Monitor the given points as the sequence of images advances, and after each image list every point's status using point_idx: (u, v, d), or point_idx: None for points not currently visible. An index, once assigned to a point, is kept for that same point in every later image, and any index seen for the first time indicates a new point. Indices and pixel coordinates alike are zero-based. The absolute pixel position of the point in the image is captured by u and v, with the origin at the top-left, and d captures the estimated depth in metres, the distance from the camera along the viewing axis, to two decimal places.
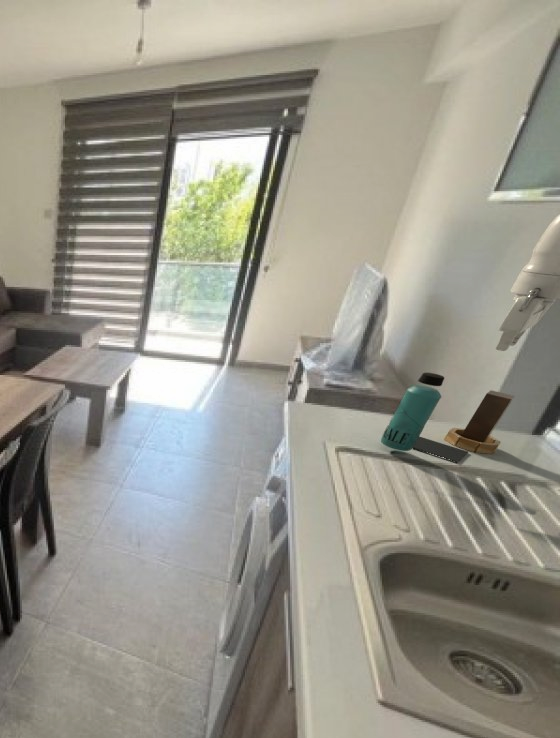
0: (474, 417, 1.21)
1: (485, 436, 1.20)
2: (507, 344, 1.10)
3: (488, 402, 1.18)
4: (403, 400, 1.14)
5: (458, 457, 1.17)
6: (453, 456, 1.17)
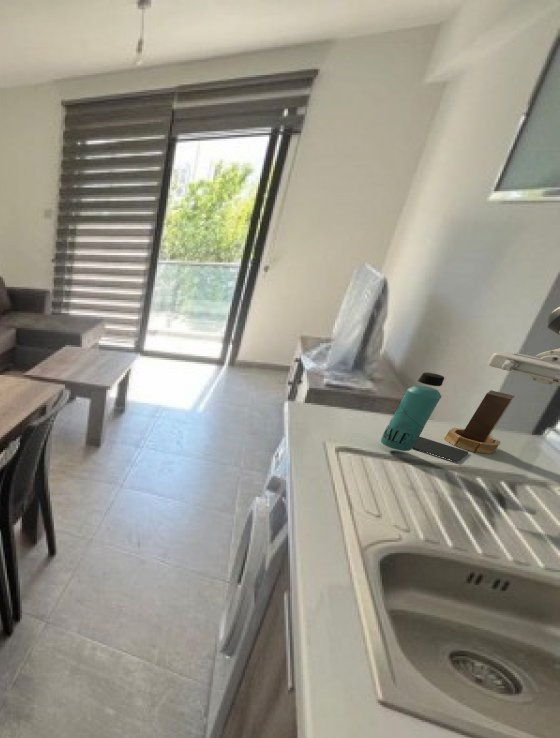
0: (474, 417, 1.21)
1: (485, 436, 1.20)
2: None
3: (488, 402, 1.18)
4: (403, 400, 1.14)
5: (458, 457, 1.17)
6: (453, 456, 1.17)
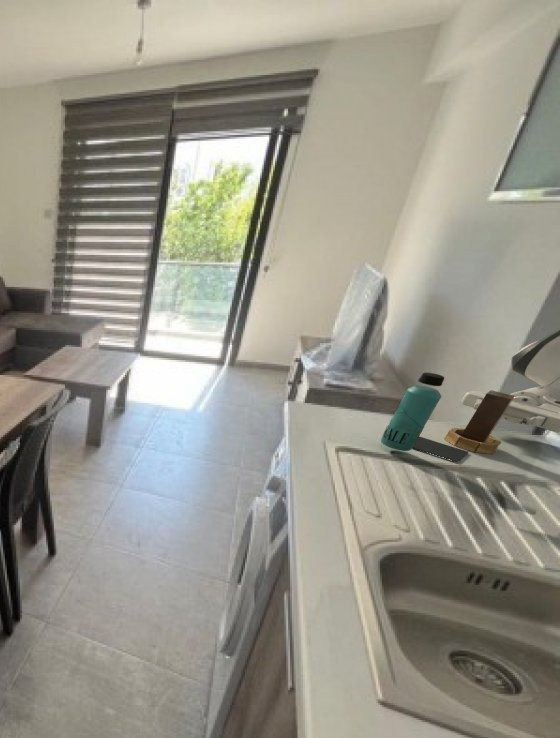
0: (474, 417, 1.21)
1: (485, 436, 1.20)
2: None
3: (488, 402, 1.18)
4: (403, 400, 1.14)
5: (458, 457, 1.17)
6: (453, 456, 1.17)
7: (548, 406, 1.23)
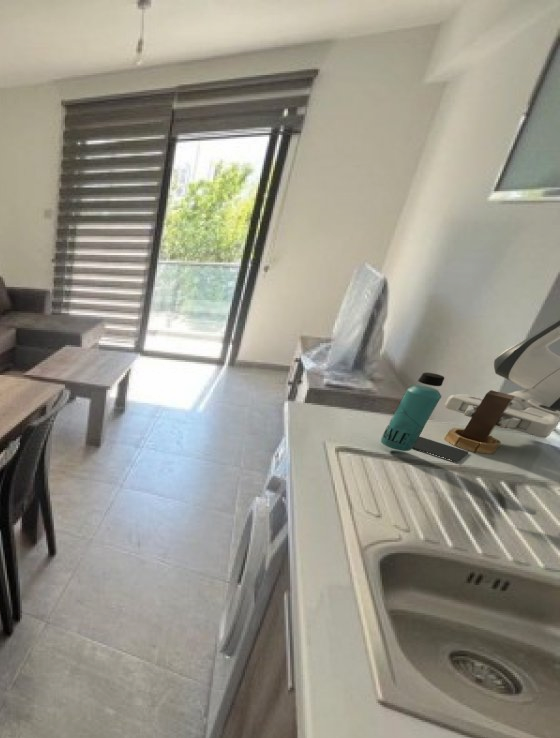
0: (474, 417, 1.21)
1: (485, 436, 1.20)
2: None
3: (488, 402, 1.18)
4: (403, 400, 1.14)
5: (458, 457, 1.17)
6: (453, 456, 1.17)
7: (533, 410, 1.20)
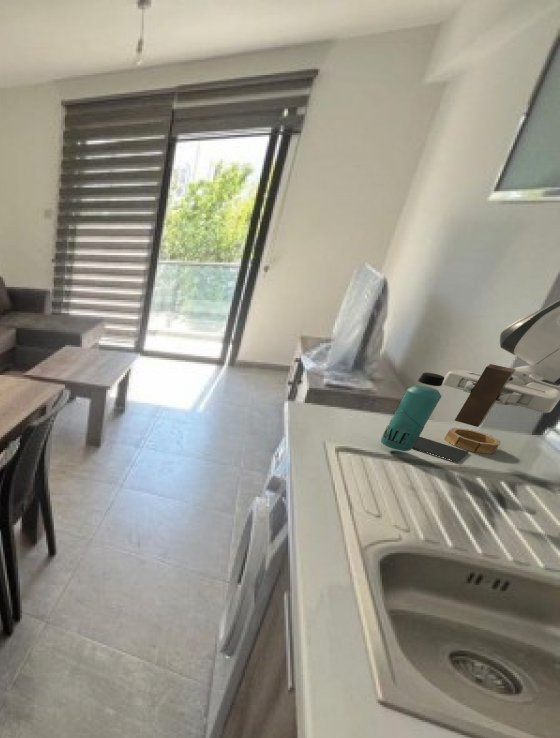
0: (473, 393, 1.15)
1: (484, 412, 1.15)
2: None
3: (488, 376, 1.13)
4: (403, 400, 1.14)
5: (458, 457, 1.17)
6: (453, 456, 1.17)
7: (535, 384, 1.15)
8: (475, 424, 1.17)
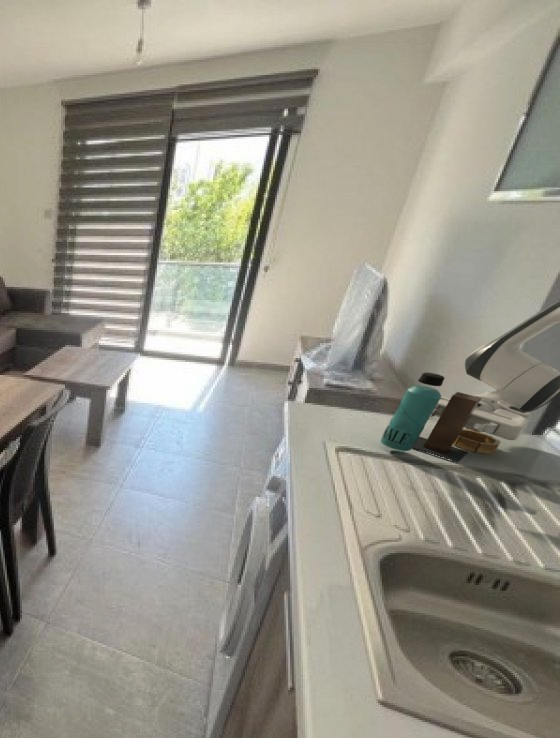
0: (441, 420, 1.17)
1: (451, 439, 1.16)
2: None
3: (454, 404, 1.15)
4: (403, 400, 1.14)
5: (458, 457, 1.17)
6: (453, 456, 1.17)
7: (502, 411, 1.16)
8: (443, 451, 1.18)
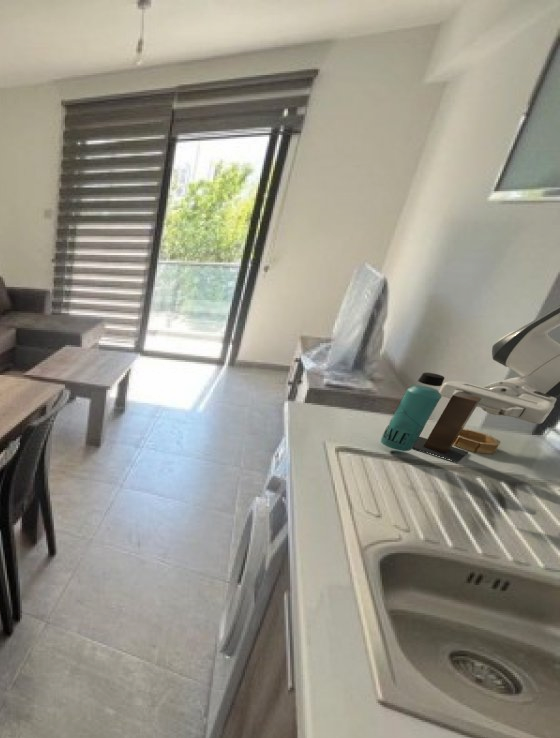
0: (441, 420, 1.17)
1: (451, 439, 1.16)
2: None
3: (454, 404, 1.15)
4: (403, 400, 1.14)
5: (458, 457, 1.17)
6: (453, 456, 1.17)
7: (527, 396, 1.18)
8: (443, 451, 1.18)
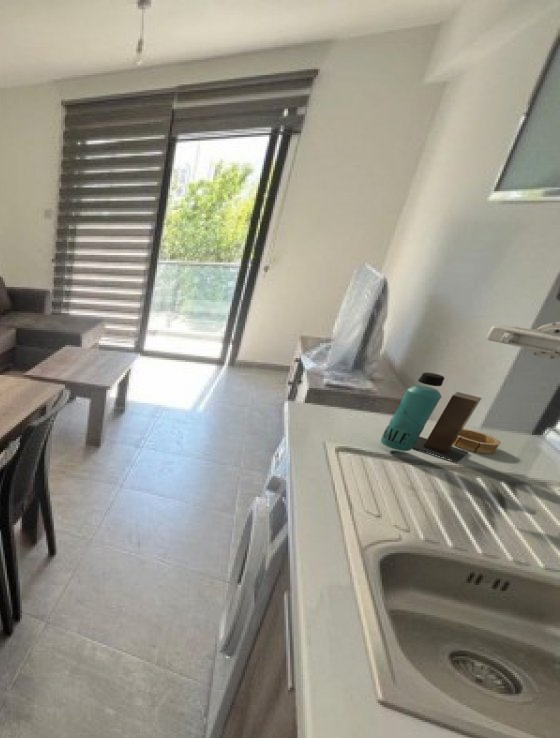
0: (441, 420, 1.17)
1: (451, 439, 1.16)
2: None
3: (454, 404, 1.15)
4: (403, 400, 1.14)
5: (458, 457, 1.17)
6: (453, 456, 1.17)
7: None
8: (443, 451, 1.18)
